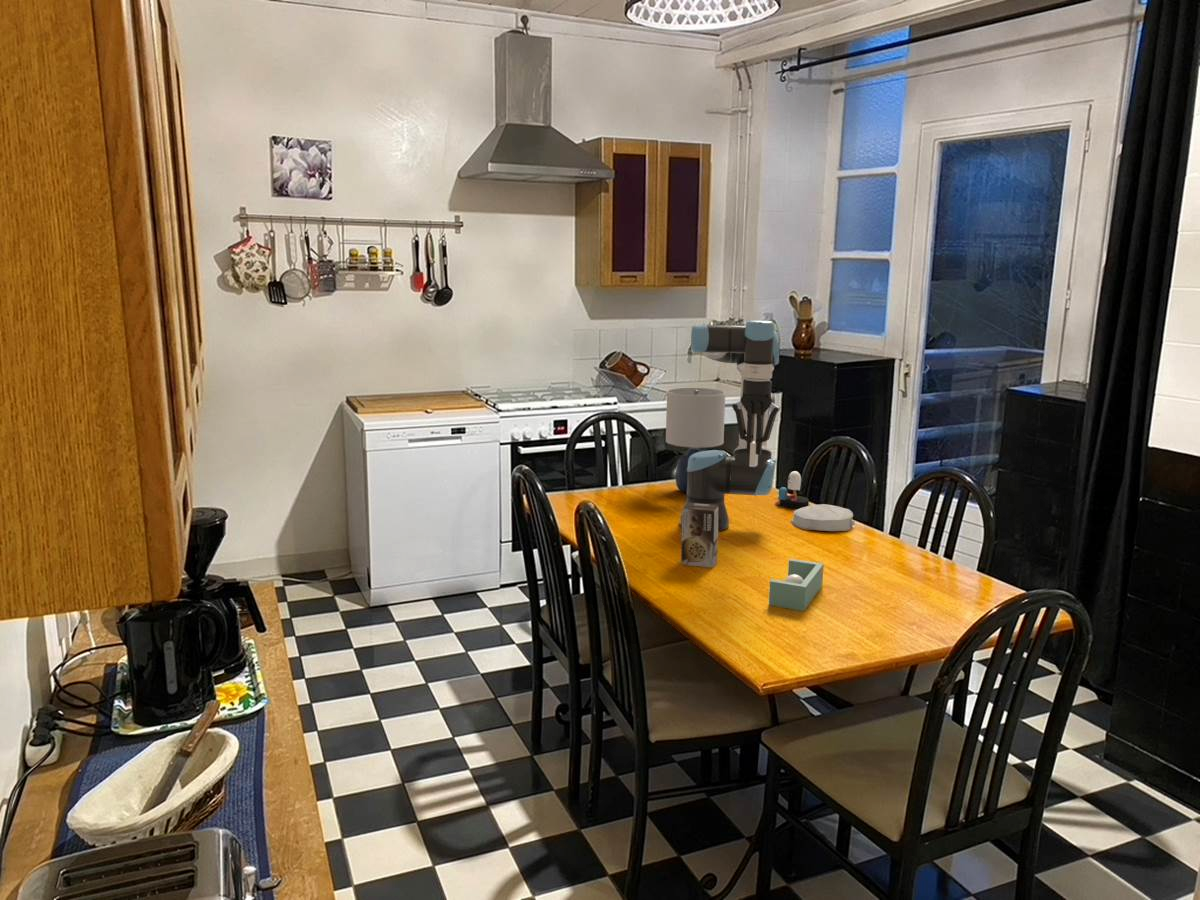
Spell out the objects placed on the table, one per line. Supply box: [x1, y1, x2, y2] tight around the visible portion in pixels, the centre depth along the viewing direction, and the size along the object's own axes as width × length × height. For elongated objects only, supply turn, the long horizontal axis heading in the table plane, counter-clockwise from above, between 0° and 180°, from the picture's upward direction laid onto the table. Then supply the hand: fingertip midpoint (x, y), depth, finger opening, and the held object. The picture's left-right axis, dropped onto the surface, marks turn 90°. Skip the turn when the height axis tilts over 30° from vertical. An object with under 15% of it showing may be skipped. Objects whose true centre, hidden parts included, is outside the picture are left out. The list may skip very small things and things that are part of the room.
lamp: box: [665, 387, 726, 494], centre depth 319 cm, size 20×20×37 cm
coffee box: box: [680, 502, 719, 569], centre depth 244 cm, size 9×6×16 cm
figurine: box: [774, 470, 810, 510], centre depth 305 cm, size 10×11×12 cm
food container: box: [790, 503, 856, 532], centre depth 284 cm, size 20×20×7 cm
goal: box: [768, 558, 824, 612], centre depth 222 cm, size 8×19×6 cm, turn 154°
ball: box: [784, 574, 804, 584], centre depth 223 cm, size 5×5×5 cm
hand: (753, 465), depth 244 cm, fingers closed
